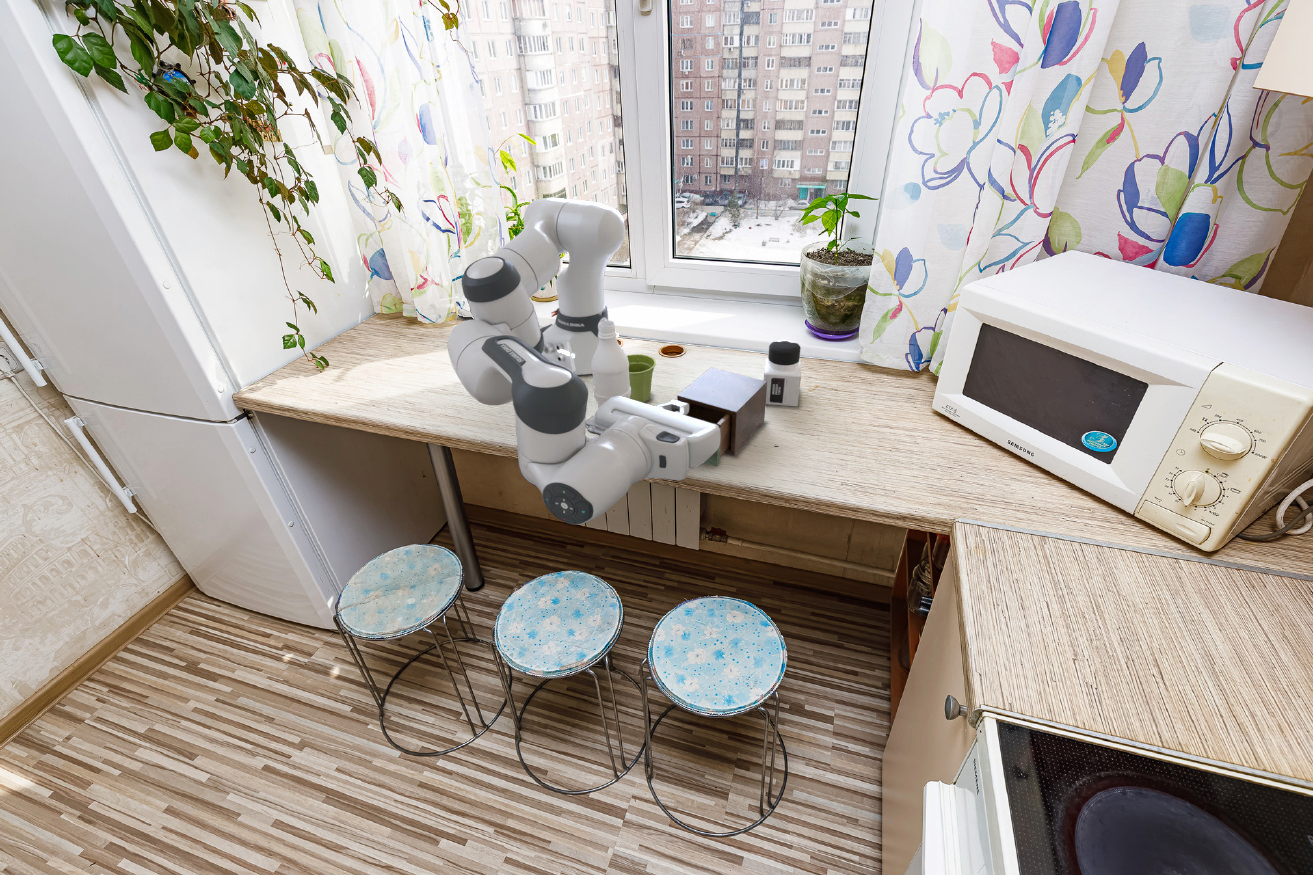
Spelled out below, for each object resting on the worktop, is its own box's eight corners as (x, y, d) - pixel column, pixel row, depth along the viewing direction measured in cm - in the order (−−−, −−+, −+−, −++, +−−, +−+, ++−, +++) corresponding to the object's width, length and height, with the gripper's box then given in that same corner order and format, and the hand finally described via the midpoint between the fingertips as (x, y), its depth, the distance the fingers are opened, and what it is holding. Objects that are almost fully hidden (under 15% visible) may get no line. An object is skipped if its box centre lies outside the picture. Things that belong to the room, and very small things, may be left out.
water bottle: (617, 425, 127) (608, 313, 113) (641, 438, 122) (634, 322, 108) (591, 439, 122) (578, 324, 109) (614, 452, 118) (604, 335, 104)
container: (797, 407, 130) (803, 352, 123) (761, 404, 132) (765, 350, 125) (797, 390, 137) (803, 337, 130) (763, 387, 138) (767, 335, 131)
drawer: (713, 470, 111) (714, 434, 106) (660, 452, 116) (659, 417, 112) (746, 435, 120) (748, 400, 116) (695, 419, 126) (696, 386, 121)
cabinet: (734, 455, 116) (736, 412, 111) (677, 437, 122) (677, 395, 117) (764, 422, 126) (767, 381, 120) (710, 407, 132) (711, 367, 126)
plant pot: (607, 399, 136) (604, 364, 131) (636, 383, 142) (634, 350, 137) (636, 412, 131) (634, 377, 126) (665, 396, 136) (664, 361, 132)
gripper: (581, 444, 96) (630, 406, 105) (692, 484, 86) (736, 438, 95) (576, 410, 92) (628, 373, 102) (692, 447, 82) (737, 403, 92)
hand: (681, 405), depth 98 cm, fingers closed
